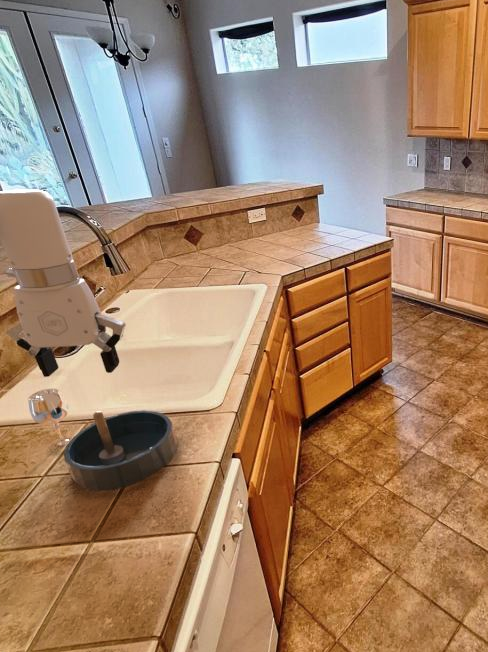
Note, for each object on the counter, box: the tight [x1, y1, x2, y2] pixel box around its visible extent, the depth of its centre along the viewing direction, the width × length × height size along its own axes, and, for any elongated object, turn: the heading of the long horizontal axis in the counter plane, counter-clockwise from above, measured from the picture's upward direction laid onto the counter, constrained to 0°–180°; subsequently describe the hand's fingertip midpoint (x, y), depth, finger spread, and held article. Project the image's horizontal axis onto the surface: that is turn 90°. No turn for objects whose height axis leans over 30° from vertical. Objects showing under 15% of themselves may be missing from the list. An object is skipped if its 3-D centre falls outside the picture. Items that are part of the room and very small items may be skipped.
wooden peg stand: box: [92, 410, 125, 465], centre depth 81 cm, size 4×4×11 cm
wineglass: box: [28, 388, 70, 446], centre depth 85 cm, size 6×6×12 cm
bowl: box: [63, 409, 178, 492], centre depth 83 cm, size 18×18×6 cm
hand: (82, 370), depth 74 cm, fingers open, 9 cm apart
